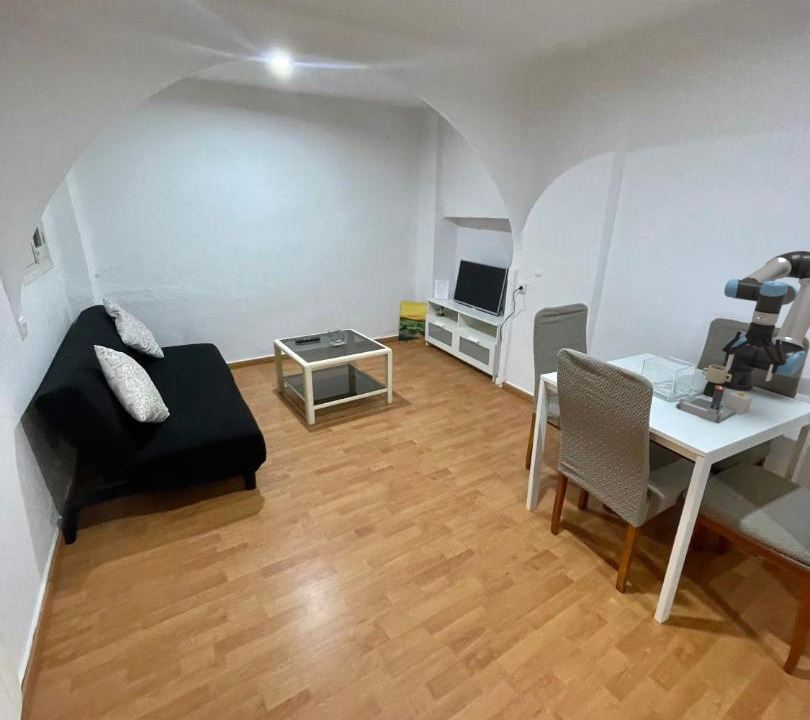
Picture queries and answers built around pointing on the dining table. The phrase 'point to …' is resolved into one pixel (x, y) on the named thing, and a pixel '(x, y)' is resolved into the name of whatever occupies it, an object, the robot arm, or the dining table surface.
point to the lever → (716, 400)
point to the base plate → (704, 409)
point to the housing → (739, 402)
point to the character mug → (715, 378)
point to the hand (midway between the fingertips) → (747, 374)
